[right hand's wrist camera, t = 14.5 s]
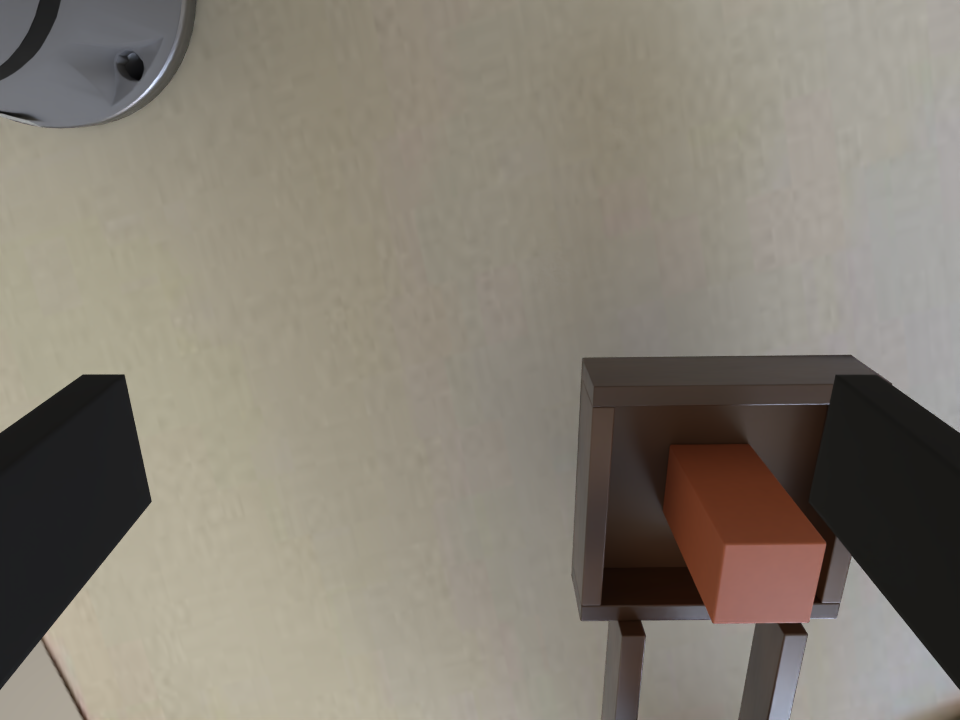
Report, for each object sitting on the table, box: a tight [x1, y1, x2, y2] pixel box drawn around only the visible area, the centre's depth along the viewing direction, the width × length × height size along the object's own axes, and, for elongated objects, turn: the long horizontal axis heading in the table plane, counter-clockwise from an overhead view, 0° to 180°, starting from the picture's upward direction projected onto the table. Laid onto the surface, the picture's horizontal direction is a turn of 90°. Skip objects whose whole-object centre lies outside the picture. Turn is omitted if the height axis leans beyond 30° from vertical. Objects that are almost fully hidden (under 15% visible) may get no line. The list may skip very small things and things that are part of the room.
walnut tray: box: [572, 355, 892, 720], centre depth 35 cm, size 28×13×4 cm, turn 1°
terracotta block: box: [663, 444, 826, 624], centre depth 30 cm, size 4×4×8 cm
